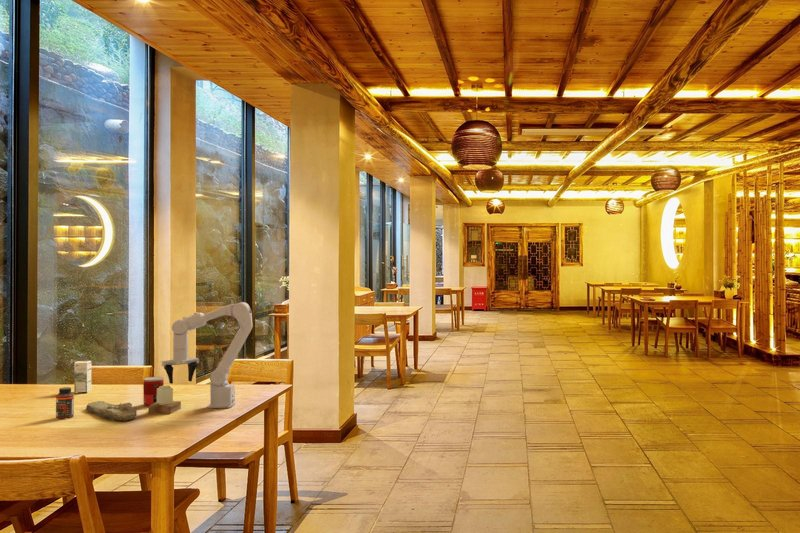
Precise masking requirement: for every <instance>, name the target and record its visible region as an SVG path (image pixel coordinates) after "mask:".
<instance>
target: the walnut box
mask: <svg viewBox="0 0 800 533" xmlns="http://www.w3.org/2000/svg"><path fill="white" fill-rule="evenodd" d="M181 409H182V401H181V400H180V401H179V400H173V403H172V404H166V405H160V404H157V402H156V403H154V404H152V405H149V406H148V414H149V415H151V414H153V415H154V414H155V415H159V414H160V415H162V414H163V415H171V413H172V414H174V413H176V412H177V411H179V410H181Z"/></svg>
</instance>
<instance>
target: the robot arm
mask: <svg viewBox="0 0 800 533" xmlns="http://www.w3.org/2000/svg"><path fill="white" fill-rule="evenodd" d="M223 316H229V317H232V316H233V317H234V318H235V319H236V320H237V323H238V325H239V328H238V330H237V332H236V333H235V336H234V337H233V339H232V340H231V343H230V345H229V346H228V347H227V350H226V352H225V353H224V355H223V357H222V359H221V361H220V362H219V364H218V365H217V367H216V368H215V369H214V370H213V371H211V373H210V374H209V381H210V395H209V396H210V401H209V402H210V403H209V404H208V405H207V406H206V408H207V409H208V408H209V409H211V408H212V409H217V408H218V409H219V408H220V409H224V408H225V409H226V408H227V409H229V408H232V407H233V406H234V405H236V394H235V393H236V389H235V387H236V386H235V384H230V383H229V381H228V378H229V376H230V375H229V374H230V371H231V370H230V369H231V368H232V365H233V364H234V362H235V360H236V358H237V356H238V354H239V353H240V351H241V349H242V348H243V346H244V344H245V342H246V341H247V338H248V337H249V335H250V333H251V331H252V329H253V312H252V309H251V307H250V305H249V304H248V303H247V302H246V301H240V302H238V303H232V304H228V305H224V306H221V307H218V308H216V309H214V310H212V311H209V312H207V313H202V312H197V311H196V312H194V313H193V314H192V315H189V316H187V317H186V316H183V317H182V319H177V320H175V321H174V322H173V323H172V325H171V331H172V333H173V335H172V336H173V338H172V344H173V345H172V346H173V347H172V352H173V353H172V356H173V357H172V359H169V360H168V359H167V360H161V366H162V367H163V369H164V370H165V372H166V375H167V377H168V381H169V382H168V383H169V384H173V383H174V376H173V375H174V374H173V373H174V366H177V365H178V366H180V365H187V369H188V370H187V371H188V374H187V375H188V376H187V377H188V378H187V380H188V381H189V382H192V381H193V378H194V377H193V376H194V374H195V371H196V369H197V367H198V364H200V358H199V357H191V358H189V336H188V334H189V333H188V332H189V331H190V332H191V331H192V330H196V329H198V328H201V327H204V326H206V325H207V322H208V321H212V320H214V319H217V318H220V317H223Z"/></svg>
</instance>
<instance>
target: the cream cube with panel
mask: <svg viewBox="0 0 800 533" xmlns="http://www.w3.org/2000/svg"><path fill="white" fill-rule="evenodd" d="M173 401H174V388H172V387H171V385H167V384H166V385H165V384H164V386H159V388H157V404H160V405H166V404H172V403H173Z"/></svg>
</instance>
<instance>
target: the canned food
mask: <svg viewBox="0 0 800 533" xmlns="http://www.w3.org/2000/svg"><path fill="white" fill-rule="evenodd" d="M142 386H143V406H145V407H149V405H152V404H154V403H156V402H157V388H159V386H165V384H164V377H163V376H150V377H144V378H143V384H142Z"/></svg>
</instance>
